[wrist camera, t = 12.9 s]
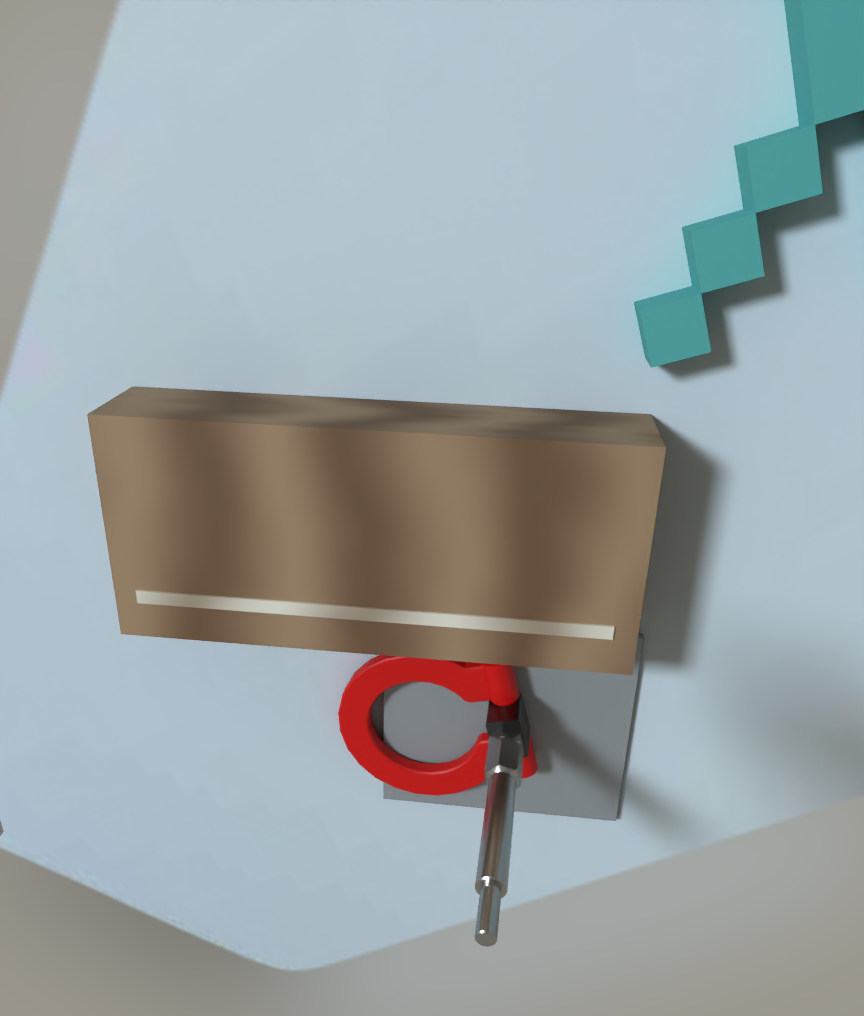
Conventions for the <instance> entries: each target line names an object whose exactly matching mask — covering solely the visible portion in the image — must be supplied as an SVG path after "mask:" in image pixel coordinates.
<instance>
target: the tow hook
mask: <svg viewBox="0 0 864 1016" xmlns="http://www.w3.org/2000/svg"><path fill="white" fill-rule="evenodd" d="M413 681H416V682H429V683H432V684H436V685H439V686H443V687H445V688H447V689H449V690H450V691H452V692H454V693H456V694H457V695H458V696H459V697H461V698H462V699H463V700H464V701H466V702H470V703H472V702H481V701H489V705H488V712H487V719H486V729H487V732H486V733H482V734H480V735H479V736H478V738H477V741H476V742H475V744H474V745H473V746H472V748H471V749H470V750H469V751H468V752H467V753H465V754H464V755H463V756H461V757H460V758H457V759H455V760H452V761H450V762H446V763H438V764H427V763H419V762H415V761H412V760H408V759H406V758H404V757H402V756H400V755H398V754H396V753H394V752H393V751H392V750H391V749H390V748H388V747H387V746H386V745H385V744H384V743H383V742H382V740H381V739H380V738H379V736H378V735H377V734H376V731H375V729H374V726H373V724H372V718H371V708H372V704H373V703H374V701H375V700H376V698H377V697H378V696H379V695H380V694H382V693H383V692H384V691H385V690H386V689H388V688H390V687H393V686H395V685H397V684H400V683H406V682H413ZM338 714H339V724H340V732H341V734H342V736H343V739H344V741H345V744H346V746H347V748H348V750H349V751H350V752H351V754H352V755H353V756H354V758H355V759H356V760H357V762H358V763H359V764H360V765H361V766H362V767H363V768H365V769H366V770H367V771H368V772H369V773H371V774H372V775H373V776H374V777H375V778H377V779H379V780H381V781H383V782H385V783H387V784H389V785H391V786H392V787H394V788H397V789H401V790H404V791H408V792H411V793H415V794H423V795H435V796H439V795H447V794H455V793H460V792H462V791H465V790H468V789H470V788H473V787H476V786H478V785H479V784H481V783H482V782H483V781H485V780H486V782H487V786H488V790H487V797H486V805H485V813H484V821H483V828H482V836H481V844H480V852H479V859H478V867H477V875H476V883H475V889H476V891H477V893H478V894H479V895H480V897H479V905H478V913H477V921H476V930H475V940H476V941H477V942H478V943H479V944H480V945H482V946H492V945H494V944H495V943H496V941H497V934H498V923H499V912H500V902H501V898H503V897H504V896H505V895H506V893H507V888H508V876H509V864H510V853H511V841H512V829H513V817H514V806H515V794H516V789H518V788H519V787H520V786H521V783H522V779H523V778H528V777H531V776H532V775H534V774H535V773H536V771H537V769H538V764H537V760H536V756H535V752H534V749H533V745H532V741H531V737H530V724H529V720H528V716H527V712H526V708H525V704H524V700H523V696H522V694H521V692H520V691H519V689H518V685H517V681H516V677H515V673H514V669H513V666H511V665H499V664H487V663H474V662H462V661H449V660H437V659H425V658H412V657H400V656H387V655H379V656H377V657H375V658H372V659H370V660H369V661H368V662H366V663H365V664H364V665H363V666H362V667H361V668H359V669H358V670H357V671H356V672H355V673H354V675H353V676H352V678H351V680H350V681H349V683H348V684H347V686H346V688H345V690H344V693H343V695H342V699H341V704H340V708H339V712H338Z"/></svg>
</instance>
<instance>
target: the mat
mask: <svg viewBox="0 0 864 1016" xmlns="http://www.w3.org/2000/svg"><path fill="white" fill-rule="evenodd" d="M643 640H644V638H643V635H639V634H638V641H637V647H636V654H635V661H634V667H633V674H632V675H623V674H610V673H598V672H586V671H573V670H561V669H548V668H536V667H524V666H513V669H514V673H515V677H516V681H517V685H518V689H519V691H520V692H521V694H522V696H523V700H524V704H525V708H526V712H527V716H528V720H529V724H530V737H531V741H532V745H533V749H534V752H535V756H536V760H537V764H538V769H537V771H536V773H535V774H534V775H532V776H531V777H528V778H523V779H522V783H521V786H520V787H519V788H518V789H516V794H515V806H514V811H518V812H529V813H539V814H549V815H560V816H570V817H581V818H591V819H602V820H612V821H616V817H617V810H618V804H619V797H620V791H621V784H622V778H623V771H624V764H625V758H626V751H627V745H628V738H629V732H630V725H631V718H632V712H633V705H634V699H635V692H636V686H637V679H638V673H639V666H640V659H641V653H642V646H643ZM488 705H489V701H481V702H472V703H470V702H466V701H464V700H463V699H462V698H461V697H459V696H458V695H457V694H456V693H454V692H452V691H450V690H449V689H447V688H445V687H443V686H439V685H436V684H432V683H429V682H416V681H413V682H406V683H400V684H397V685H395V686H393V687H390V688H388V689H386V690H385V691H384V744H385V745H386V746H387V747H388V748H390V749H391V750H392V751H393V752H394V753H396V754H398V755H400V756H402V757H404V758H406V759H408V760H412V761H415V762H419V763H427V764H438V763H446V762H450V761H452V760H455V759H457V758H460V757H461V756H463V755H464V754H465V753H467V752H468V751H469V750H470V749H471V748H472V746H473V745H474V744H475V742H476V741H477V738H478V736H479V735H480V734H482V733H486V732H487V729H486V719H487V712H488ZM487 790H488V786H487V782H486V780H485V781H483V782H482V783H481V784H479V785H478V786H476V787H473V788H470V789H468V790H465V791H462V792H460V793H455V794H447V795H439V796H435V795H423V794H415V793H411V792H408V791H404V790H401V789H397V788H394V787H392V786H391V785H389V784H387V783H385V782H384V799H393V800H404V801H414V802H424V803H435V804H445V805H456V806H466V807H477V808H485V805H486V797H487Z"/></svg>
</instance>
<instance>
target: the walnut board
mask: <svg viewBox="0 0 864 1016" xmlns="http://www.w3.org/2000/svg"><path fill="white" fill-rule="evenodd" d="M87 416H88V422H89V429H90V435H91V442H92V448H93V455H94V461H95V468H96V474H97V481H98V487H99V494H100V500H101V507H102V513H103V520H104V526H105V533H106V539H107V546H108V552H109V559H110V565H111V572H112V578H113V584H114V591H115V597H116V604H117V610H118V617H119V623H120V630H121V634H127V635H140V636H152V637H165V638H177V639H189V640H202V641H214V642H226V643H239V644H251V645H264V646H276V647H288V648H301V649H313V650H326V651H338V652H350V653H363V654H375V655H387V656H400V657H412V658H425V659H437V660H449V661H462V662H474V663H487V664H499V665H511V666H524V667H536V668H548V669H561V670H573V671H586V672H598V673H610V674H623V675H632V674H633V667H634V661H635V654H636V647H637V641H638V634H639V627H640V620H641V614H642V607H643V600H644V594H645V587H646V580H647V573H648V567H649V560H650V553H651V547H652V540H653V533H654V526H655V520H656V513H657V506H658V500H659V493H660V486H661V480H662V473H663V466H664V459H665V453H666V446H665V444H664V441H663V439H662V437H661V435H660V433H659V431H658V428H657V426H656V424H655V422H654V420H653V418H652V415H651V414H633V413H614V412H596V411H577V410H558V409H540V408H521V407H502V406H484V405H465V404H447V403H428V402H409V401H391V400H372V399H353V398H335V397H316V396H297V395H279V394H260V393H241V392H223V391H204V390H185V389H167V388H148V387H131V388H129V389H128V390H126V391H125V392H123V393H121V394H120V395H118V396H116V397H115V398H113V399H112V400H110V401H108V402H107V403H105V404H103V405H102V406H100V407H99V408H97V409H95V410H94V411H92V412H90V413H89V414H87Z"/></svg>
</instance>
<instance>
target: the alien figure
mask: <svg viewBox="0 0 864 1016" xmlns="http://www.w3.org/2000/svg"><path fill="white" fill-rule="evenodd" d="M784 3H785V11H786V20H787V28H788V37H789V45H790V53H791V62H792V70H793V79H794V87H795V95H796V104H797V112H798V120H799V126H797V127H794V128H791V129H788V130H784V131H781V132H778V133H775V134H771V135H768V136H765V137H762V138H758V139H755V140H752V141H749V142H745V143H742V144H739V145H736V146H734V149H735V156H736V162H737V169H738V176H739V183H740V189H741V196H742V203H743V210H740V211H736V212H733V213H729V214H726V215H722V216H719V217H715V218H712V219H709V220H705V221H702V222H698V223H695V224H691V225H688V226H685V227H682V231H683V236H684V242H685V248H686V253H687V259H688V265H689V270H690V276H691V282H692V286H690V287H687V288H683V289H680V290H676V291H672V292H669V293H665V294H661V295H658V296H654V297H651V298H647V299H643V300H640V301H636V302H634V305H635V310H636V315H637V320H638V325H639V330H640V335H641V339H642V344H643V349H644V354H645V358H646V359H647V361H648V363H649V365H650V366H651V368H652V367H656V366H659V365H663V364H667V363H671V362H675V361H679V360H683V359H687V358H691V357H694V356H698V355H702V354H706V353H710V352H711V347H710V342H709V336H708V330H707V324H706V318H705V313H704V307H703V301H702V295H701V294H702V293H705V292H709V291H713V290H716V289H720V288H724V287H727V286H731V285H735V284H738V283H742V282H746V281H749V280H753V279H756V278H760V277H764V276H765V275H764V268H763V261H762V254H761V247H760V240H759V233H758V226H757V219H756V213H757V212H761V211H764V210H768V209H771V208H775V207H778V206H782V205H785V204H788V203H792V202H795V201H799V200H802V199H806V198H809V197H813V196H816V195H820V194H823V190H822V181H821V172H820V163H819V154H818V145H817V136H816V127H815V125H816V124H820V123H823V122H826V121H829V120H833V119H836V118H839V117H843V116H846V115H849V114H852V113H856V112H859V111H862V110H864V0H784Z"/></svg>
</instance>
